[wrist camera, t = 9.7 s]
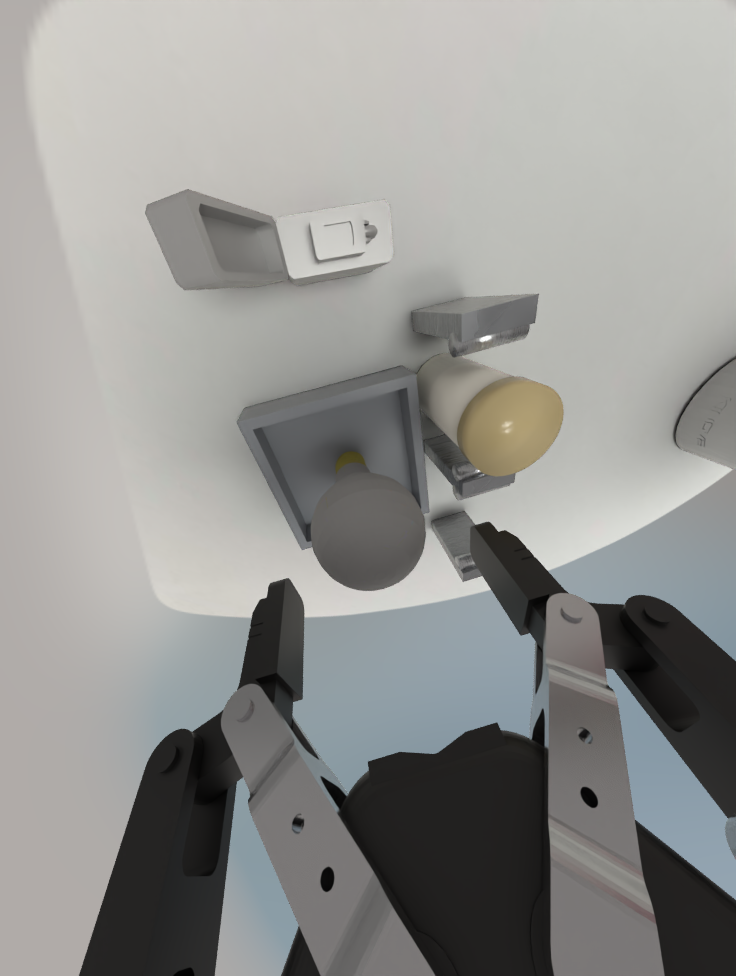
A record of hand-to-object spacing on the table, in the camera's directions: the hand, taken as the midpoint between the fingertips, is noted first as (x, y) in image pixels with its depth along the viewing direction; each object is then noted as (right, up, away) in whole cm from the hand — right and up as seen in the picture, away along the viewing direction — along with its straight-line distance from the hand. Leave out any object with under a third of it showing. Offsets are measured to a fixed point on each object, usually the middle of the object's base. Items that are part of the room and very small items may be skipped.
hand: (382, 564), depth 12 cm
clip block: (+5, +7, +9) cm, 12 cm away
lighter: (-4, +14, +2) cm, 15 cm away
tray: (-2, +5, +8) cm, 10 cm away
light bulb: (-2, +5, +8) cm, 9 cm away
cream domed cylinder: (+4, +10, +6) cm, 13 cm away
